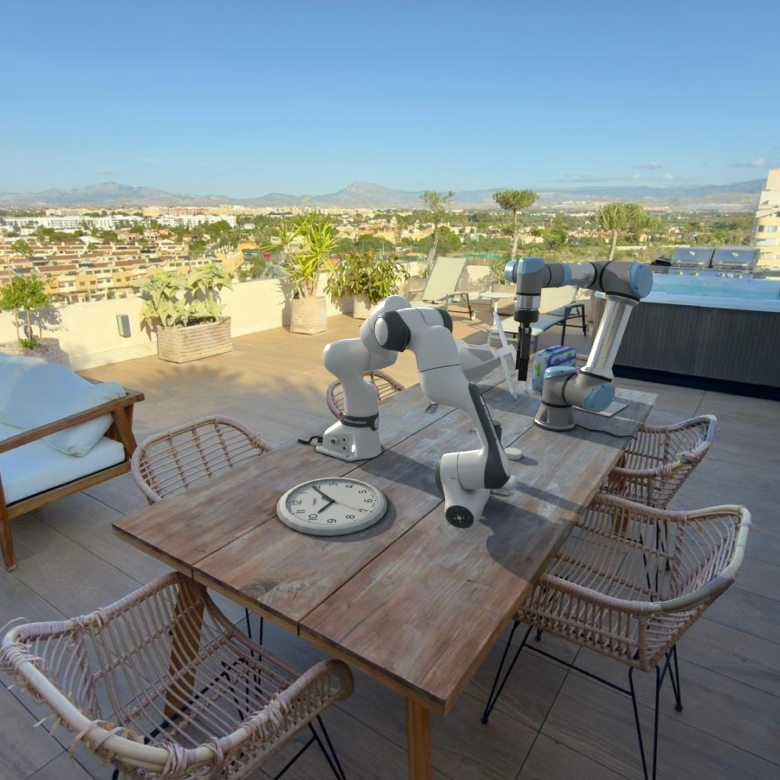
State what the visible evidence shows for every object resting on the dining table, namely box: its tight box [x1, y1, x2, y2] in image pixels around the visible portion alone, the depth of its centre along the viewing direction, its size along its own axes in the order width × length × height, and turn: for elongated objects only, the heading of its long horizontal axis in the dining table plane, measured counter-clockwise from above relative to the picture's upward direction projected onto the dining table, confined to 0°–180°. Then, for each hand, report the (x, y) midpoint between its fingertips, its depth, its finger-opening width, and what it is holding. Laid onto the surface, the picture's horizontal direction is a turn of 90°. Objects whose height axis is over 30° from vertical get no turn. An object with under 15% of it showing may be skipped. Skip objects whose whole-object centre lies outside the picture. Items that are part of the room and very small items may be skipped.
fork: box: [425, 400, 437, 412], centre depth 222 cm, size 3×16×2 cm, turn 160°
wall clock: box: [276, 476, 388, 537], centre depth 142 cm, size 30×2×30 cm
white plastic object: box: [454, 310, 531, 400], centre depth 245 cm, size 37×45×31 cm
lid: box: [503, 447, 523, 461], centre depth 176 cm, size 6×6×2 cm
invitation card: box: [573, 400, 629, 418], centre depth 226 cm, size 21×1×15 cm
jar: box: [492, 419, 503, 443], centre depth 160 cm, size 5×5×17 cm
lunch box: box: [531, 345, 577, 394], centre depth 245 cm, size 26×11×21 cm, turn 134°
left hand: (484, 468), depth 152 cm, fingers open, 8 cm apart
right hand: (520, 375), depth 167 cm, fingers open, 13 cm apart
